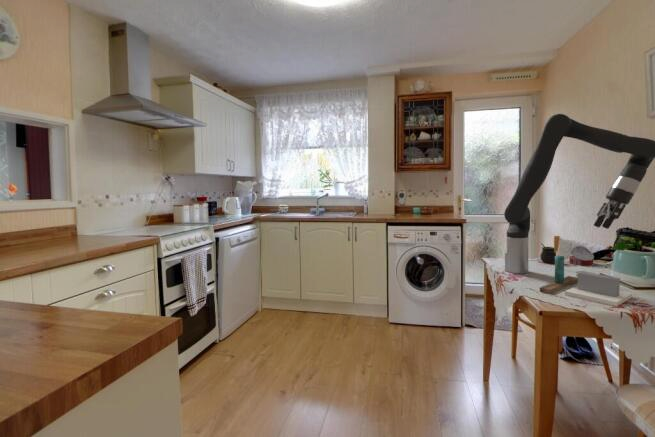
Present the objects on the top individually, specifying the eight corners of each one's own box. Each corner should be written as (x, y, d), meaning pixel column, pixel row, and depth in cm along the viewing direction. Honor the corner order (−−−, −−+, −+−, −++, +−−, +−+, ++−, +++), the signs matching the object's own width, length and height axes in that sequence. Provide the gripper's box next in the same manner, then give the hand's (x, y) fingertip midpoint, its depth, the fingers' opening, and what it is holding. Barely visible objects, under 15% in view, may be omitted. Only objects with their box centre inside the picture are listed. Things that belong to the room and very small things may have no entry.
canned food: (589, 271, 174) (601, 255, 170) (585, 273, 167) (597, 257, 163) (566, 258, 181) (578, 243, 177) (561, 260, 174) (573, 244, 170)
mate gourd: (552, 264, 173) (552, 245, 172) (537, 262, 180) (536, 244, 179) (559, 262, 177) (559, 243, 176) (543, 260, 183) (543, 242, 182)
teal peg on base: (539, 292, 136) (539, 260, 135) (568, 280, 148) (568, 251, 147) (549, 294, 133) (549, 262, 132) (577, 282, 145) (578, 252, 144)
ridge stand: (564, 294, 131) (565, 274, 130) (581, 287, 138) (581, 268, 137) (616, 306, 117) (617, 283, 116) (632, 297, 124) (632, 276, 124)
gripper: (604, 187, 141) (584, 222, 144) (620, 185, 127) (597, 223, 130) (624, 194, 138) (603, 230, 141) (643, 193, 125) (618, 232, 128)
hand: (600, 227), depth 136 cm, fingers open, 8 cm apart
